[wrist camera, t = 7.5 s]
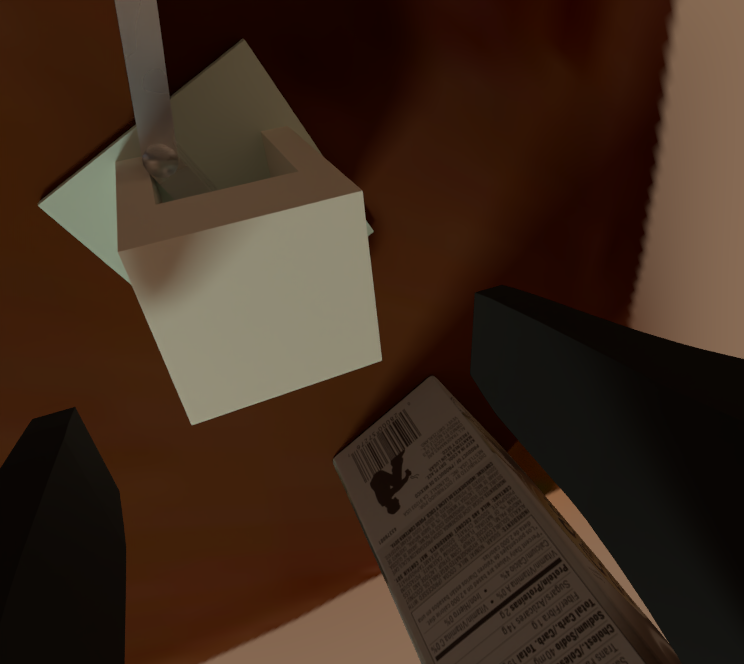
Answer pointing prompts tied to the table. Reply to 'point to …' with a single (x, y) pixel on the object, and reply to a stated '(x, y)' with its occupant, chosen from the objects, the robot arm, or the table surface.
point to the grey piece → (155, 102)
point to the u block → (252, 278)
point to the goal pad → (184, 147)
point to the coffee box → (482, 548)
